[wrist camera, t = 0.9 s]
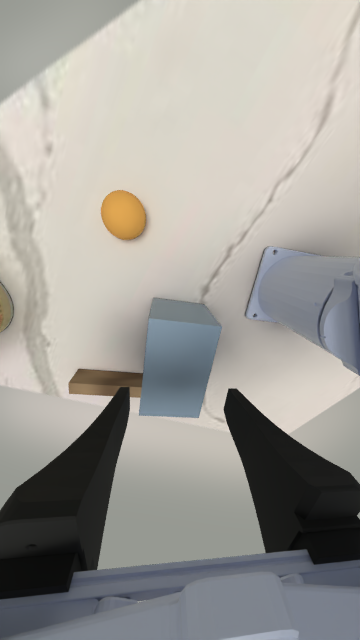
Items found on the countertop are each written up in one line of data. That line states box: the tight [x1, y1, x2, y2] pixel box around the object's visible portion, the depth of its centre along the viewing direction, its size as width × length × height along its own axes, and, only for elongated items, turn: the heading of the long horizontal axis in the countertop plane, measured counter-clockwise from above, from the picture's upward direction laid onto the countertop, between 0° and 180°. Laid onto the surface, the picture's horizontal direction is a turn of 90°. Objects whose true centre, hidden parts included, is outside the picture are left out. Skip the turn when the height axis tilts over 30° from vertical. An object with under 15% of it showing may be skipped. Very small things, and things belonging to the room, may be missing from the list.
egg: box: [101, 190, 146, 240], centre depth 15 cm, size 4×4×4 cm
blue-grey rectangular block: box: [139, 298, 222, 418], centre depth 19 cm, size 6×10×7 cm, turn 171°
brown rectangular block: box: [69, 369, 143, 398], centre depth 22 cm, size 10×2×2 cm, turn 81°
